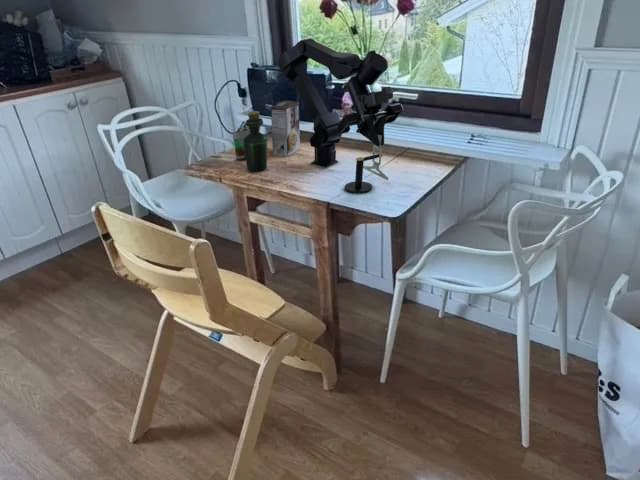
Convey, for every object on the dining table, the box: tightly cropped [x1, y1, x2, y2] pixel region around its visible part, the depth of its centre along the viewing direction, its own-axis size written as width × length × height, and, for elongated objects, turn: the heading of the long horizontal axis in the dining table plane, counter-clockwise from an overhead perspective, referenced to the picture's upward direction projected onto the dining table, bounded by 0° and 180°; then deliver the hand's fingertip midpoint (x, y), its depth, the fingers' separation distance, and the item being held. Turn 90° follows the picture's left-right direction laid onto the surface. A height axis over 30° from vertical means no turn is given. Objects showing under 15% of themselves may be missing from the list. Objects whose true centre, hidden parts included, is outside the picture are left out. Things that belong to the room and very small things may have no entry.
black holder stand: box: [344, 153, 384, 195], centre depth 151 cm, size 8×12×9 cm
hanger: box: [363, 134, 390, 181], centre depth 149 cm, size 1×12×11 cm, turn 22°
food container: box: [232, 122, 250, 162], centre depth 182 cm, size 12×6×10 cm, turn 160°
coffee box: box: [270, 100, 301, 158], centre depth 180 cm, size 9×6×16 cm
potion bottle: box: [243, 110, 269, 173], centre depth 169 cm, size 8×8×18 cm
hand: (380, 145), depth 146 cm, fingers closed on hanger, 1 cm apart
